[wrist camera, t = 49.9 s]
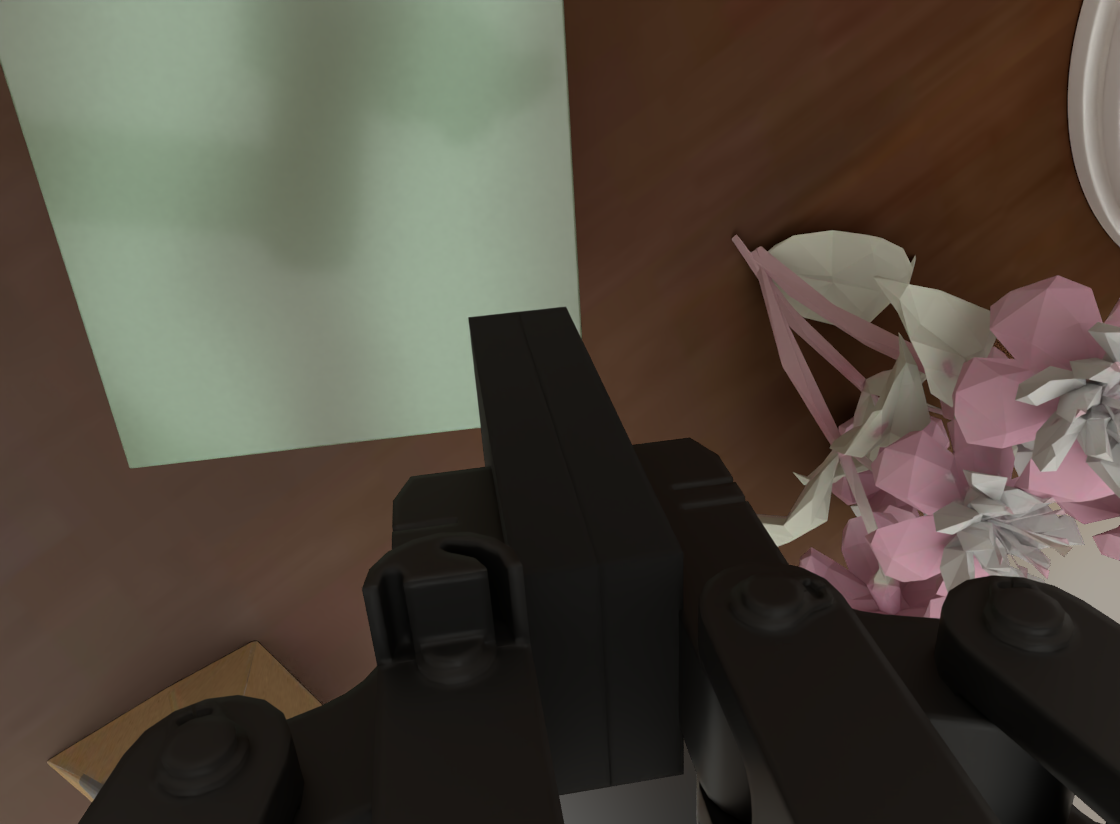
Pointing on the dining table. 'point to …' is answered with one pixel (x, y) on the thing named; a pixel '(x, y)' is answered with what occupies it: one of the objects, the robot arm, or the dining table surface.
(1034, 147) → the dining table surface
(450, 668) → the robot arm
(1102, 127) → the plate stack
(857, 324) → the flower
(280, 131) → the lid
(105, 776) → the sandwich container
